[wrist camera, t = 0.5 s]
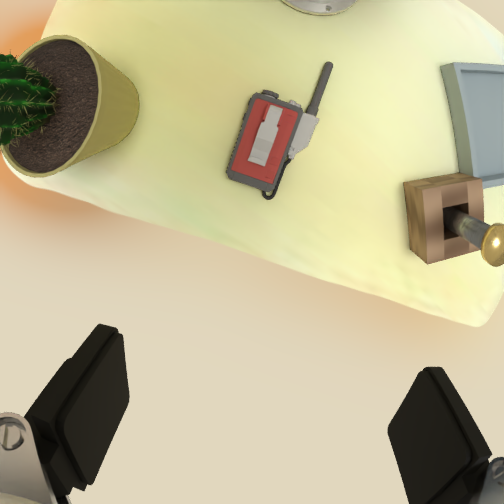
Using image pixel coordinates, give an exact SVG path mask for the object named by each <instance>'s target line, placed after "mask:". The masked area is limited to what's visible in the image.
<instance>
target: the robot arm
mask: <svg viewBox="0 0 504 504" xmlns="http://www.w3.org/2000/svg"><path fill="white" fill-rule="evenodd" d="M282 1H283V2H284V3H286V4H287V5H289V6H290V7H292V8H294V9H296V10H299V11H301V12H304V13H308V14H312V15H322V16H323V15H333V14H338V13H341V12H343V11H346V10H347V9H349V8H350V7H352V6H353V4H354V3H355V2H356V1H357V0H282ZM326 9H328V10H329V11H328V10H326ZM128 403H129V387H128V379H127V371H126V362H125V352H124V341H123V335H122V334H120V333H118V329H117V328H115V327H111V326H107V325H103V324H98V325H97V326H96V327H95V329H94V330H93V331H92V332H91V334H90V335H89V336H88V337H87V339H86V340H85V341H84V342H83V344H82V345H81V346H80V348H79V349H78V350H77V352H76V353H75V354H74V355H73V357H72V358H69V359H67V360H66V361H65V362H64V363H63V364H62V366H61V367H60V368H59V370H58V371H57V372H56V374H55V375H54V376H53V377H52V379H51V380H50V382H49V383H48V384H47V386H46V387H45V388H44V389H43V391H42V392H41V394H40V395H39V396H38V398H37V399H36V400H35V402H34V403H33V405H32V406H31V407H30V409H29V410H28V412H27V413H26V414H25V416H24V417H22V416H20V415H19V414H15V413H12V412H11V413H9V412H7V413H1V414H0V504H71V502H70V499H69V496H68V495H69V494H70V492H71V490H72V488H73V487H75V488H77V489H80V490H82V491H85V488H86V486H87V484H88V485H92V484H93V483H94V481H95V478H96V476H97V474H98V471H99V469H100V467H101V464H102V462H103V460H104V457H105V455H106V453H107V450H108V448H109V446H110V444H111V441H112V439H113V437H114V434H115V432H116V430H117V428H118V426H119V423H120V421H121V419H122V417H123V415H124V412H125V410H126V408H127V406H128ZM388 436H389V439H390V442H391V445H392V448H393V451H394V455H395V458H396V461H397V464H398V467H399V471H400V474H401V477H402V481H403V484H404V488H405V491H406V495H407V498H408V502H409V504H504V457H497V458H495V459H493V460H492V461H491V462H490V463H489V461H488V458H490V456H491V455H492V452H491V451H490V449H489V447H488V445H487V443H486V441H485V439H484V437H483V436H482V434H481V432H480V430H479V429H478V427H477V425H476V423H475V421H474V420H473V418H472V416H471V414H470V412H469V411H468V409H467V407H466V406H465V404H464V402H463V400H462V399H461V397H460V395H459V394H458V392H457V390H456V389H455V387H454V386H453V384H452V382H451V381H450V379H449V377H448V376H447V374H446V373H445V371H444V369H443V368H442V367H426V368H424V369H423V371H420V372H419V373H418V375H417V377H416V379H415V381H414V382H413V384H412V386H411V388H410V390H409V392H408V393H407V395H406V397H405V399H404V400H403V402H402V404H401V406H400V407H399V409H398V411H397V412H396V414H395V415H394V417H393V419H392V420H391V422H390V424H389V426H388Z"/></svg>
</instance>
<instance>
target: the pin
mask: <svg viewBox="0 0 504 504" xmlns="http://www.w3.org/2000/svg"><path fill="white" fill-rule="evenodd" d="M442 209H443V226H444V227H445V228H447V229H449V230H450V231H452V232H454V233H455V234H457V235H459V236H460V237H462V238H463V239H465V240H467V241H468V242H470V243H471V244H473V245H475V246H476V247H478V248H479V249H481V254H482V257H483V259H484V260H485V261H486V262H487V263H489V264H490V265H492V266H495V267H498V266H501V265H503V264H504V224H502V223H495V224H493V225H491V226H490V225H488V224H486V223H485V222H483V221H481V220H478V219H476V218H474V217H472V216H470V215H468V214H466V213H464V212H462V211H460V210H458V209H456V208H453V207H451V206H449V207H445V208H442Z"/></svg>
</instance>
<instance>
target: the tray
mask: <svg viewBox="0 0 504 504" xmlns="http://www.w3.org/2000/svg"><path fill="white" fill-rule="evenodd" d="M440 68H441V72H442V76H443V80H444V84H445V88H446V92H447V97H448V102H449V106H450V111H451V117H452V122H453V128H454V134H455V140H456V147H457V155H458V163H459V172H460V173H463V174H466V175H470V176H474V177H477V178H481V179H482V185H483V189H484V188H490V187H495V186H500V185H504V65H493V64H478V63H450V64H447V65H444V66H441V67H440Z"/></svg>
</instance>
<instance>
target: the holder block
mask: <svg viewBox="0 0 504 504" xmlns="http://www.w3.org/2000/svg"><path fill="white" fill-rule="evenodd" d="M404 191H405V199H406V208H407V217H408V228H409V241H410V250H412V251H413V252H414V253H415V254H416V255H417V256H418V257H419V258H421V259H422V260H423V261H424V262H425V263H426V264H431V263H435V262H438V261H442V260H446V259H449V258H453V257H457V256H460V255H464V254H467V253H471V252H474V251H478V250H481V249H479V248H478V247H476V246H475V245H473V244H471V243H470V242H468V241H467V240H465V239H463V238H462V237H460V236H459V235H457V234H455V233H454V232H452V231H450V230H449V229H447V228H445V227H444V226H443V209H442V208H445V207H449V206H451V207H453V208H456V209H458V210H460V211H462V212H464V213H466V214H468V215H470V216H472V217H474V218H476V219H478V220H481V221H483V222H484V203H483V185H482V179H481V178H477V177H474V176H470V175H466V174H463V173H455V174H449V175H443V176H437V177H431V178H426V179H420V180H415V181H409V182H404Z"/></svg>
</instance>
